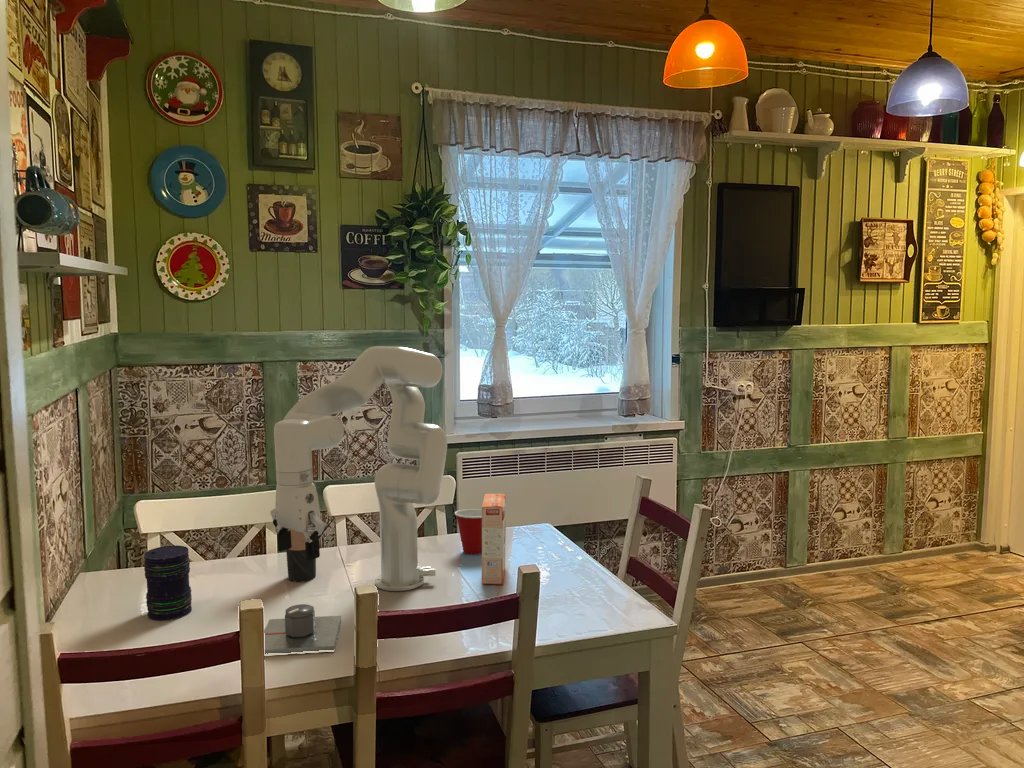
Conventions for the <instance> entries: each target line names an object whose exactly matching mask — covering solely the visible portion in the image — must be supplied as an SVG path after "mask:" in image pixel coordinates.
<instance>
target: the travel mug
mask: <svg viewBox="0 0 1024 768" xmlns="http://www.w3.org/2000/svg"><path fill="white" fill-rule="evenodd" d="M308 527H309V526H307V527H306V528H308ZM289 530H290V531H291V544H292V547H291V548H290V549H287V550H285V551H286V561H287V562H286V564H287V577H288V580H289V581H290V580H291V581H290V582H293V581H296V582H295V583H302V582H301V581H305V582H309V581H311V579H312V580H314V579H315V578H316V576H317V558H315V559H313V560H310V561H308V560H306V549H305V542H307V540H306V538H305V536H304V534H303V532H298V531H294V530H291V529H289ZM289 530H288V531H289ZM309 533H310V535H312V533H313V532H312V531H309ZM313 578H314V579H313ZM308 580H309V581H308Z"/></svg>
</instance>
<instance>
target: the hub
mask: <svg viewBox="0 0 1024 768" xmlns="http://www.w3.org/2000/svg"><path fill="white" fill-rule="evenodd" d="M340 624H342V615H325V616H323V615H322V616H315V630H314V632H313V633H311V634H308V635H306V636H299V637H292V636H289V635H287V634H285V618H272V619H271V618H270V619H268V622H267V624H266V627H265V628H264V631H265V654H266V653H267V654H268V653H291V652H303V651H319V650H334V649H335V650H336V647H335V644H336V645H337V643H336V640H337V641H338V638H337V636H338V637H339V634H338V632H340V629H339V628H341V625H340Z"/></svg>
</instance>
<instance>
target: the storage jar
mask: <svg viewBox="0 0 1024 768" xmlns="http://www.w3.org/2000/svg"><path fill="white" fill-rule="evenodd" d="M189 555H190V554H189V547H187V546H184V545H165V546H159V547H155V548H152V549H149V550H146V551H145V552H144V554H143V558H144V566H143V568H144V576H145V577H144V578H145V579H146V590H147V592H146V594H145V595H146V596H145V602H146V608H147V609H146V610H147V618H148V619H149V620H151V621H153V622H154V621H156V622H168V621H174V620H178V619H181V618H184V617H186V616H187V615H189V614H191V612H193V611H192V600H193V599H192V588H191V586H190V572H191V567H190V564H191V563H190V561H191V560H190V557H189Z"/></svg>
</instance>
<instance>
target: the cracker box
mask: <svg viewBox="0 0 1024 768" xmlns="http://www.w3.org/2000/svg"><path fill="white" fill-rule="evenodd" d="M481 510H482V553H481V585H503V584H504V577H505V570H506V535H507V534H506V528H507V527H506V526H507V525H506V524H507V523H506V520H507V519H506V518H507V517H506V514H507V513H506V494H505V493H485V494H484V497H483V502H482V506H481Z"/></svg>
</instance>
